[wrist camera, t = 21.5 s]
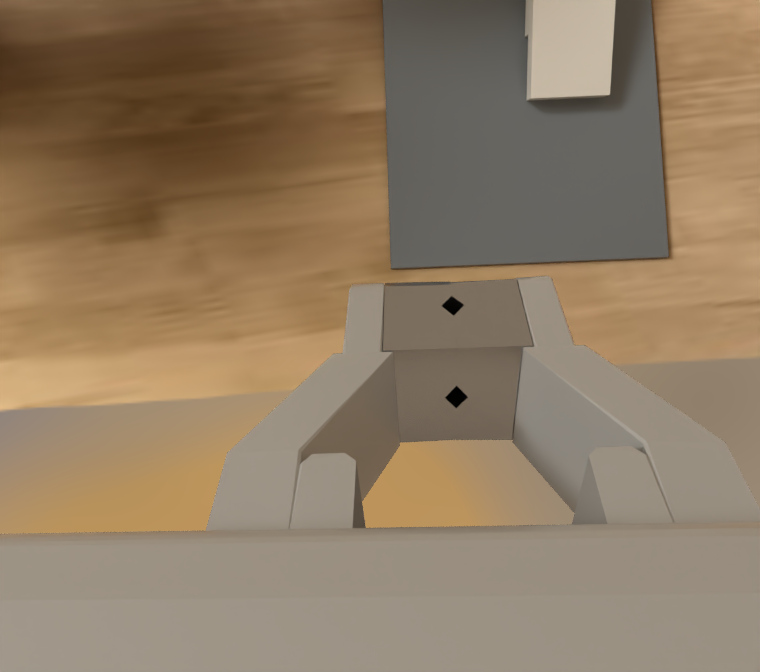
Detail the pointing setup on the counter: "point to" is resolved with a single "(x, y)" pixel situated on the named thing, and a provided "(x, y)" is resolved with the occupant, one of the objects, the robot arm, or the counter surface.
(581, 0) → the loose domino
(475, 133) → the domino mat
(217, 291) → the counter surface
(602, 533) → the robot arm
